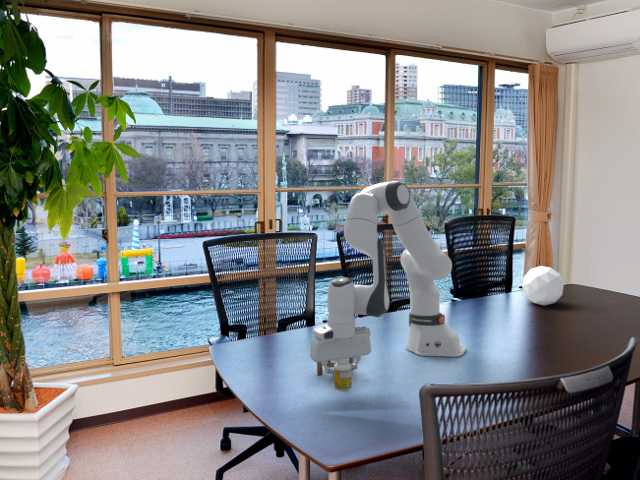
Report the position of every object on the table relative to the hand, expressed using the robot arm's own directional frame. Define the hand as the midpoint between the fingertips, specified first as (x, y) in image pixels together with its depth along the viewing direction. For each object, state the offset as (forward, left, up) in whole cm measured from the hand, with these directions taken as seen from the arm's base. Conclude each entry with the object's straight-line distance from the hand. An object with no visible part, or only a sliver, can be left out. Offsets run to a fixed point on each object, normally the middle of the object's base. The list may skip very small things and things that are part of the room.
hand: (341, 371), depth 195 cm
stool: (+6, -13, -6) cm, 16 cm away
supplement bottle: (-1, 0, -6) cm, 6 cm away
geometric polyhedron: (-60, -139, -6) cm, 151 cm away
